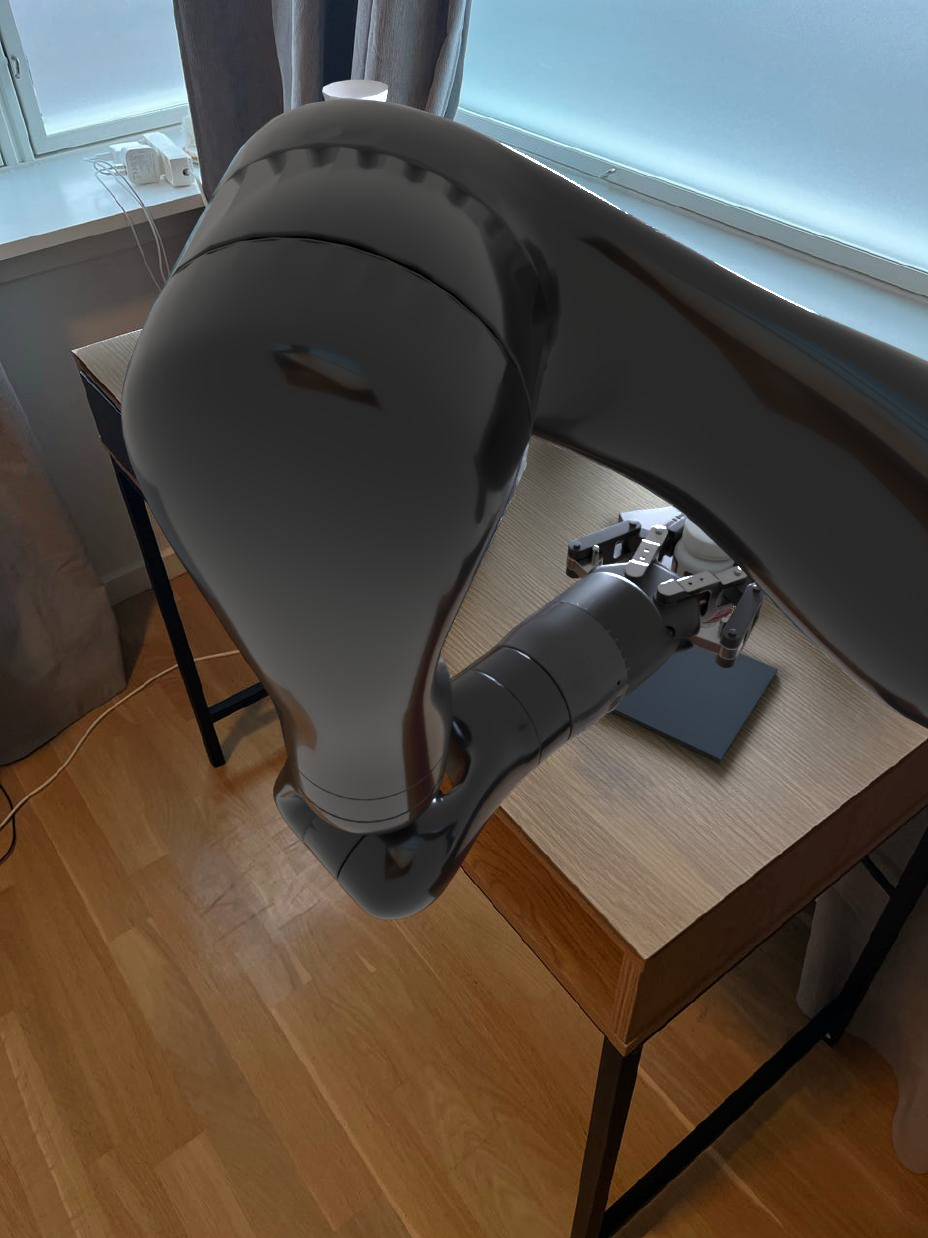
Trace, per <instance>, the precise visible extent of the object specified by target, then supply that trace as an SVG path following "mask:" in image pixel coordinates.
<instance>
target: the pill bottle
mask: <svg viewBox="0 0 928 1238" xmlns="http://www.w3.org/2000/svg"><path fill="white" fill-rule="evenodd" d="M733 563H734V561H733V560H732V559H731V558H730V557H729V556H728V555H727V554H726V553H725V552H724V551H723V550H722V549H721V548H720V547H719V546H718V545H717V544H716V543H714V542H713V541H712V540H711V539H710V538H709V537H708V536H707V535H706V534H705V533H704V532H703V531H702V530H701V529H700V528H699V527H697V526H696V525H695V524H694V523H693V522H691V521H690V520H689V519H688V518H687V520H686V522H685V526H684V530H683V535H682V538H681V539H680V540H679V541H678V542H677V544H676V546H675V548H674V552H673V558H672V564H671V571H672V572H674V573H677V574H680V575H683V576H686V577H689V576H692V575H695V574H698V573H701V572H703V571H706V570H709V571H711V572H712V573H716V572H719V571H722V570H725V569H728V568H731V567H733ZM722 591H724V590H722ZM732 609H733V607H730V608H727V609H725V610H722V611H719V612H717V613H716V614H715V615H714V617H713V618H712V619H710V620H709V621H706V622H703V623H701V627H704V628H708V627H712V626H713V625H714V624H715V623H717V622H720V621H721V618H723V617H726V618H728V619H729V618H730V616H731V615H732Z"/></svg>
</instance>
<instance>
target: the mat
mask: <svg viewBox="0 0 928 1238" xmlns="http://www.w3.org/2000/svg"><path fill="white" fill-rule="evenodd" d="M716 655H717V654H715V653H712V652H709V651H707V650H704V649H701V648H698V647H696V646H694V647H692V648H691V649H689V650H686V651H682V652H678V653H675V654H673V655H672V656H671V657H670V658H669V659H668V660H667V661H666V662H665V663H664V664H663V666H662V667H661V668H660V669H659V670H657V671H656V672H655V673H654V674H653V675H652V676H650V677H649V678H648V679H647V680H646V681H644V682H643V683H642V684H641V685H640V686H639V687H637V688H636V689H635V690H634V691H633V692H632V693H630V694H629V695H628V696H627V697H626V698H624V699H623V700H622V701H621V702H620V703H619V705H618V706H617V707H616V708H615V709H614V710H613V711H611V712H612V713H614V714H616V715H618V716H620V717H621V718H624V719H627V720H629V721H630V722H633V723H635V724H637V725H639V726H641V727H644V728H645V729H647V730H650V731H652V732H653V733H656V734H658V735H661V737H665V738H666V739H668V740H671V741H673V742H675V743H677V744H678V745H679V744H680V745H681V746H684V747H686V748H688V749H689V750H692V751H694V752H696V753H697V754H701V755H702V756H704V757H707V758H709V759H710V760H713V761H715V762H717V763H722V761H723V759H724V758H725V756H726V754H727V753H728V752H729V750H730V749H731V747H732V745H733V744H734V743H735V740H736V739H737V737H739V734H740V732H741V731H742V729H743V728H744V726H745V725H746V723H747V721H748V720H749V718H750V716H751V715H752V713H753V712H754V710H755V709H756V707H757V706H758V704H759V702H760V700H761V699H762V697H763V696H764V694H765V693H766V691H767V689H768V688H769V686H770V685H771V682H772V681H773V680H774V678H775V677H776V675H777V674H778V670H779V669H778V668H777V667H774V666H773V665H770V664H767V663H764V662H762V661H760V660H757V659H755V658H754V657H753V658H752V657H750V656H748V655H746V654H743V653H742V652H741V653H740V655H739V657H738V659H737V661H736V663H735V665H734V666H733V667H731V668H723V667H720V666H719V665H718V664H717V663H716Z"/></svg>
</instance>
